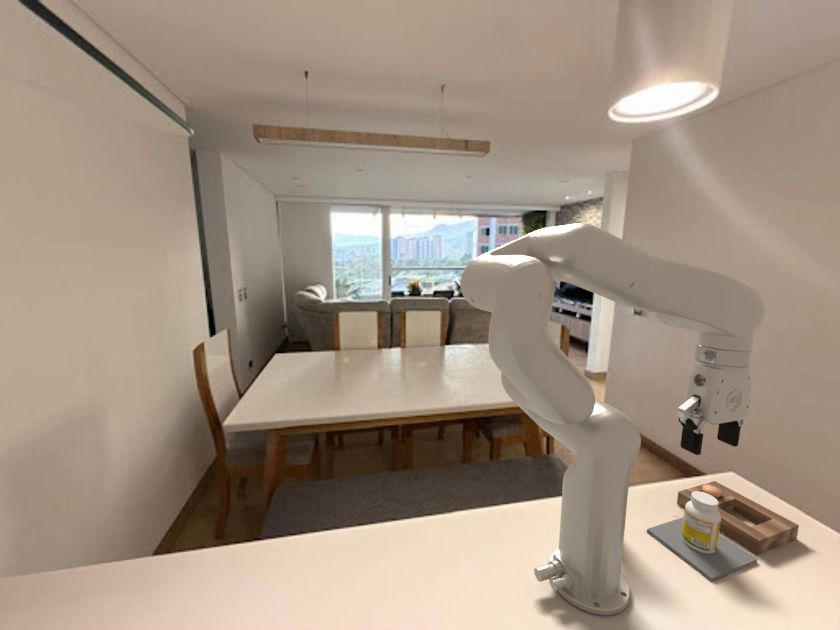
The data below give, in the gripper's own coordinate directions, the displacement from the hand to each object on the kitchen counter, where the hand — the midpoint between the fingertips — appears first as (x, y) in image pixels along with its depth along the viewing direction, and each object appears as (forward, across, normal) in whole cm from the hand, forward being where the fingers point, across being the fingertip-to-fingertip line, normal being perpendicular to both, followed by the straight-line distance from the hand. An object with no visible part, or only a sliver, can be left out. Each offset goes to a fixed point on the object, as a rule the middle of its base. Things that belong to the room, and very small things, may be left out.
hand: (709, 447), depth 66 cm
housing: (+20, +15, +2) cm, 25 cm away
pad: (+20, +1, 0) cm, 20 cm away
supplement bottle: (+20, 0, 0) cm, 20 cm away
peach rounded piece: (+20, +15, +7) cm, 26 cm away
